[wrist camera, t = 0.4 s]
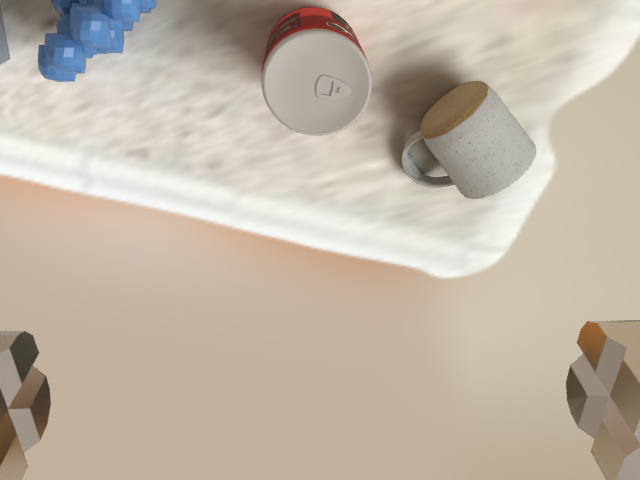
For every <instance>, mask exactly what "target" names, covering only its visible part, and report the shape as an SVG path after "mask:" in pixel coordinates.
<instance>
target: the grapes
mask: <svg viewBox="0 0 640 480" xmlns="http://www.w3.org/2000/svg"><path fill="white" fill-rule="evenodd" d="M52 3H53V5H54V7H55V8H56V10H57V11H58V12H59V13H61V14H64V15H61V17H60V22H59V21H57V33H47V34H46V36H45V45H39V51H38V67H39V70H40V72H41V74H42V75H43V76H44V78H46V79H49V80H53V81H57V82H64V81H75V75H76V73H85V67H86V58H92V57H93V55H97V54H107V53H122V52H123V45H124V31H132V28H133V22H139V18H140V13H151V10H152V8H155V5H156V0H52Z"/></svg>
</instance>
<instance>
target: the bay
mask: <svg viewBox="0 0 640 480" xmlns="http://www.w3.org/2000/svg"><path fill="white" fill-rule="evenodd" d="M9 59H10V55H9V50H8V45H7V39H6V34H5V29H4V24H3V19H2V13H1V8H0V64H2V63H4V62H6V61H7V60H9Z"/></svg>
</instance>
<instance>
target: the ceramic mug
mask: <svg viewBox="0 0 640 480" xmlns="http://www.w3.org/2000/svg"><path fill="white" fill-rule="evenodd" d="M421 139H424V141H425V143H426V145H427V147H428V148H429V149H430V151H431V152H432V153H433V155H434V156H435V157H436V158H437V160H438V161H439V162H440V164H441V165H442V167H443V168H444V170H445V171H446V173H447V174H448V175H449V176H443V177H431V176H427V175H424V174H423V173H422V172H420V171H419V170H418V168H417V167H416V165H415V164H414V162H413V160H412V156H411V155H410V154H409V153H408V150H409V149H410V147H411V146H412V145H413V144H415V143H416V142H418V141H419V140H421ZM535 155H536V147H535V144H534V142H533V141H532V140H531V139H530V137H529V136H528V135H527V133H526V132H525V131H524V129H523V128H522V127H521V125H520V124H519V123H518V121H517V120H516V119H515V117H514V116H513V115H512V114H511V112H510V111H509V110H508V108H507V107H506V105H505V104H504V103H503V101H502V100H501V98H500V97H499V96H498V94H497V93H496V92H495V91H494V90H493V89H491V88H490V87H489V86H488V85H487V84H485V83H484V82H481V81H471V82H467V83H464V84H462V85H460V86H458V87H456V88H454V89H453V90H451V91H450V92H448V93H446V94H445V95H444V96H443V97H442V98H440V99H439V100H438V101H437V102H436V103H435V104H434V105H433V106H432V107H431V108H430V109H429V110H428V111H427V113H426V114H425V116H424V117H423V120H422V122H421V128H420V131H417V132H416V133H414V134H413V135H412V136H411V137H410V138H409V139H408V140H407V142H406V144H405V146H404V148H403V151H402V165H403V168H404V170H405V172H406V173H407V175H408V176H409V177H410V178H411V179H412V180H413V181H414V182H416V183H417V184H419V185H422V186H426V187H432V188H440V187H447V186H451V185H454V184H455V185H456V187H457V188H458V190H459V191H460V192H461V193H462V194H463V195H464V196H465V197H467V198H470V199H479V198H484V197H488V196H490V195H493V194H496V193H498V192H500V191H502V190H503V189H505V188H507V187H508V186H510V185H511V184H513V183H514V182H515V181H516V180H517V179H519V178H520V177H521V176H522V175H523V174H524V173H525V172H526V171H527V170H528V168H529V167H530V166H531V164H532V162H533V160H534V158H535Z"/></svg>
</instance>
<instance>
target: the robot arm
mask: <svg viewBox="0 0 640 480" xmlns="http://www.w3.org/2000/svg"><path fill="white" fill-rule="evenodd" d="M577 344H578V345H579V347H580V349H581V350H582V352H583V353H584V354H583V355H581V356H580V357H579V358H578V359H577V360H576V361H575V362H573V363H572V364H571V365H570V369H569V373H568V376H567V381H566V390H567V401H568V405H569V408H570V411H571V414H572V416H573V418H574V420H575V422H576V424H577V426H578V428H580V429H581V430H583V431H584V432H586V433H587V434H588V435H590V436H591V437H593V438H594V439H595V440H594V443H593V446H592V450H591V453H592V455H593V456H594V458H595V460H596V462H597V464H598V466H599V467H600V469H601V471H602V473H603V475H604V477H605V478H606V480H640V320H625V321H587V322H586V324H585V325H584V326H583V327H582V329H581V331H580V334H579V337H578V340H577ZM38 354H39V351H38V349H37V345H36V343H35V340H34V337H33V335H31V334H29V333H27V332H26V331H0V480H22V478H23V476H24V474H25V472H26V470H27V468H28V465H27V461H26V459H25V456H24V453H25V452H26V451H27V450H28V449H30V448H31V447H32V446H33V445H35V444H36V443H37V442H39V441H40V440H41V437H42V435H43V433H44V430H45V428H46V426H47V423H48V417H49V411H50V405H51V400H50V388H49V385H48V381H47V378H46V376H45V375H44V374H43V373H42V372H40V371H39V370H38V369H37V368H35V367H34V366H33V363H34V362H35V359H36V358H37V356H38Z"/></svg>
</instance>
